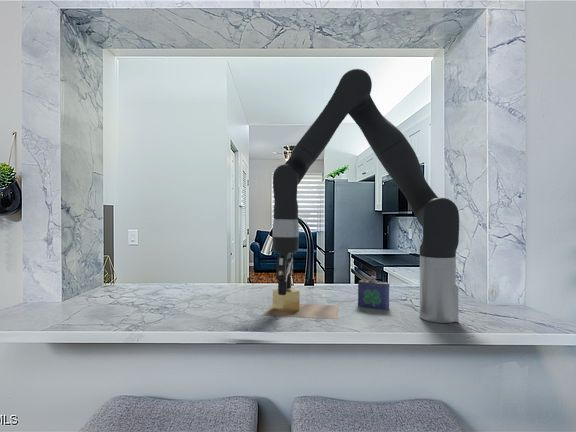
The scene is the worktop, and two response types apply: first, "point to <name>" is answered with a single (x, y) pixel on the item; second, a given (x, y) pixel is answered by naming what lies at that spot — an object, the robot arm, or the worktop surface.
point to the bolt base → (308, 311)
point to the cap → (286, 301)
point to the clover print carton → (373, 294)
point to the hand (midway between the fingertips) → (284, 291)
